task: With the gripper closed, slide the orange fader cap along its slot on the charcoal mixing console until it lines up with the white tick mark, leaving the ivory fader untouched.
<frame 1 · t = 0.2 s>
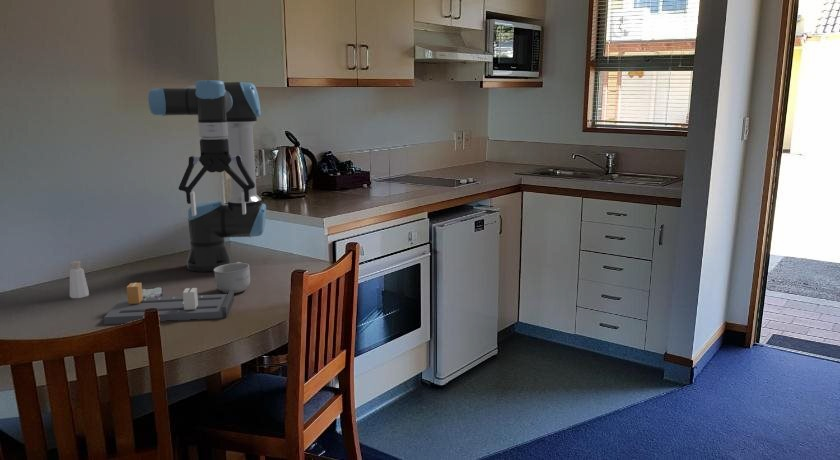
hand: (219, 214, 180), 28 cm above the table, fingers open, 13 cm apart
console: (172, 311, 184), on the table
teacup: (235, 290, 205), on the table
smartphone: (150, 299, 197), on the table
fader ivory: (190, 298, 180), point 5 cm above the table, slide at 0.0 cm
salt shaker: (79, 296, 199), on the table
fader orange: (134, 293, 185), point 5 cm above the table, slide at 0.0 cm
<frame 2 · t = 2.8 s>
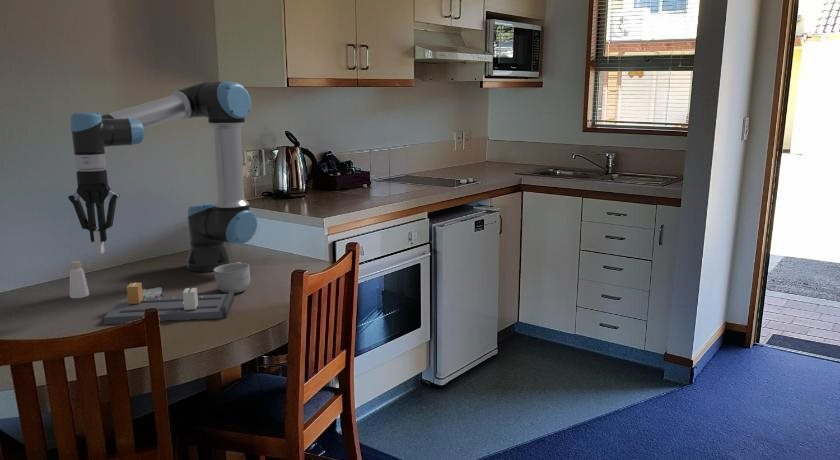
hand: (100, 252, 182), 17 cm above the table, fingers closed
nothing on the table moved.
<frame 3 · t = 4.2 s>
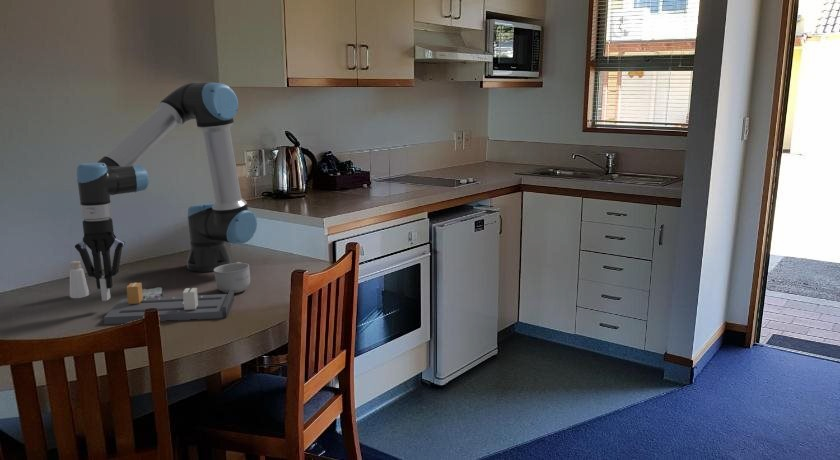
hand: (106, 299, 185), 3 cm above the table, fingers closed
nothing on the table moved.
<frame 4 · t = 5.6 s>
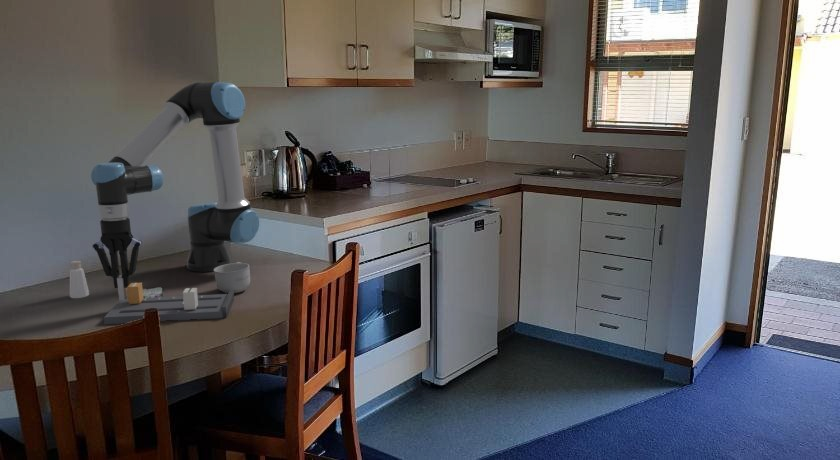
hand: (123, 298, 185), 3 cm above the table, fingers closed
fader orange: (135, 292, 185), point 5 cm above the table, slide at 0.2 cm, touching gripper
everything else where it was.
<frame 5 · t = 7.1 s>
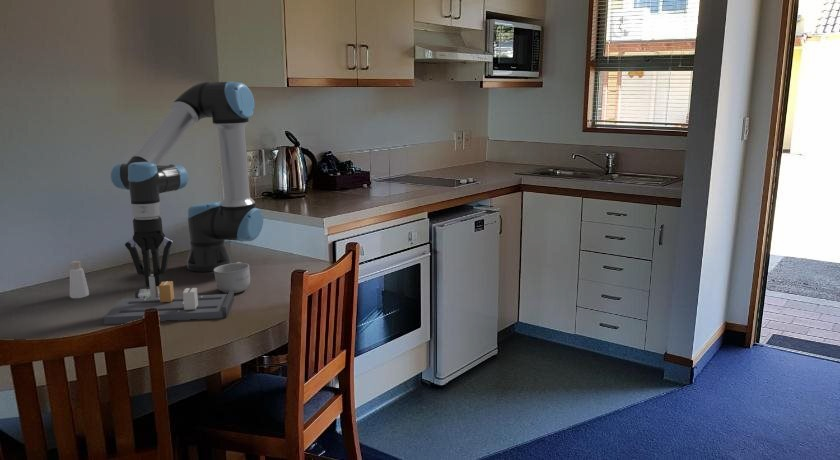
hand: (154, 296, 187), 3 cm above the table, fingers closed
fader orange: (166, 291, 187), point 5 cm above the table, slide at 8.8 cm, touching gripper
everything else where it was.
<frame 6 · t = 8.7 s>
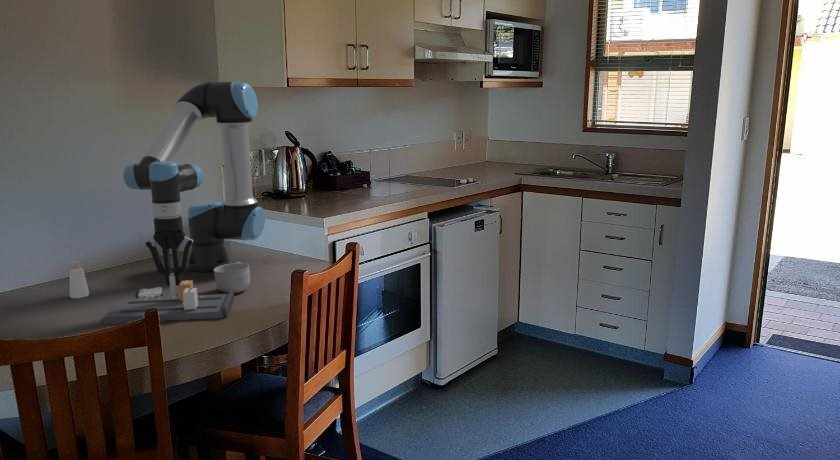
hand: (174, 295, 187), 3 cm above the table, fingers closed
fader orange: (186, 290, 187), point 5 cm above the table, slide at 14.3 cm, touching gripper
everything else where it was.
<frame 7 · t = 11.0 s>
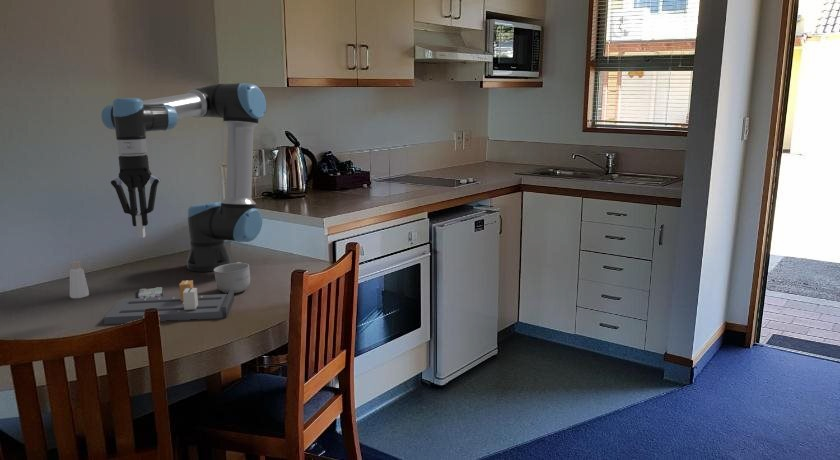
hand: (141, 236, 184), 21 cm above the table, fingers closed
fader orange: (186, 290, 187), point 5 cm above the table, slide at 14.4 cm
everything else where it was.
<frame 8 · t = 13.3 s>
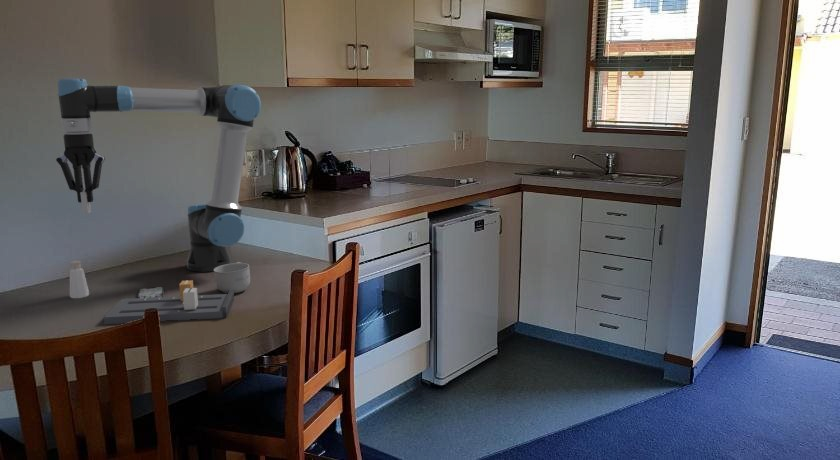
hand: (87, 213, 191), 26 cm above the table, fingers closed
nothing on the table moved.
at the end: fader orange slide at 14.4 cm; fader ivory slide at 0.0 cm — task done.
